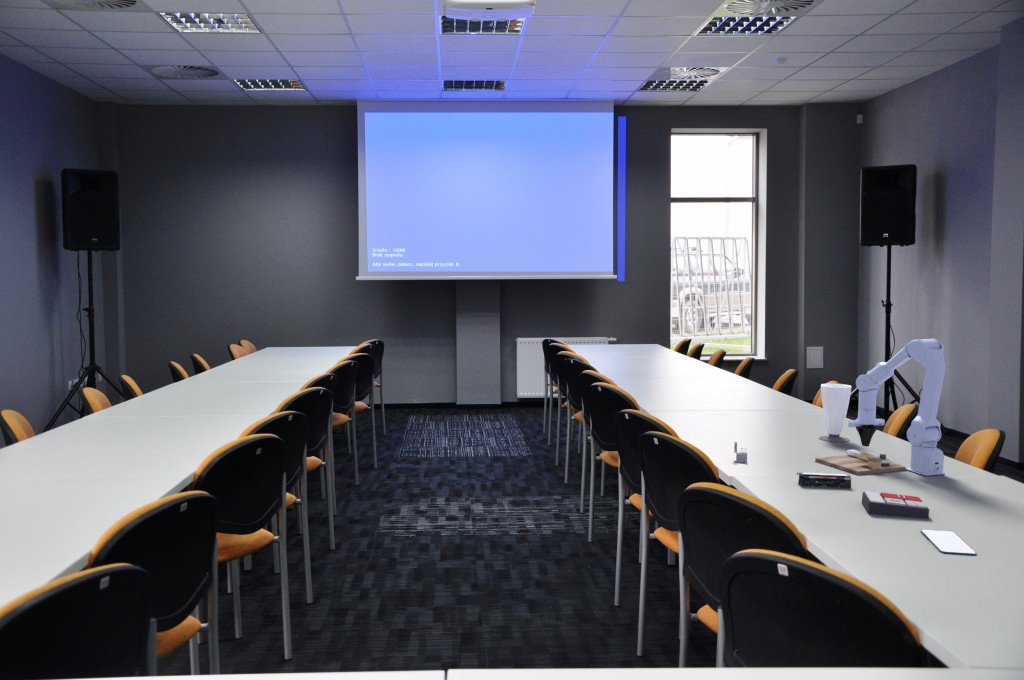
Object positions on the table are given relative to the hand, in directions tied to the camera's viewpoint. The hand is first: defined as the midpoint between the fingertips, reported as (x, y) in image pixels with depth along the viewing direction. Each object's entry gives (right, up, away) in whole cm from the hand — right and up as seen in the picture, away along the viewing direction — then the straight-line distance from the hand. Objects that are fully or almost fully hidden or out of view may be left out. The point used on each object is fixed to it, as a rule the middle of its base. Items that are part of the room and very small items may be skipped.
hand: (865, 445), depth 280 cm
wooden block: (-7, -5, -18) cm, 20 cm away
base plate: (-7, -5, -12) cm, 15 cm away
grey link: (-3, -3, -9) cm, 10 cm away
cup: (+2, -2, +32) cm, 32 cm away
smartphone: (-20, -12, -89) cm, 92 cm away
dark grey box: (-20, -10, -63) cm, 67 cm away
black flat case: (-28, -8, -39) cm, 48 cm away
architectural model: (-42, -5, -2) cm, 43 cm away
